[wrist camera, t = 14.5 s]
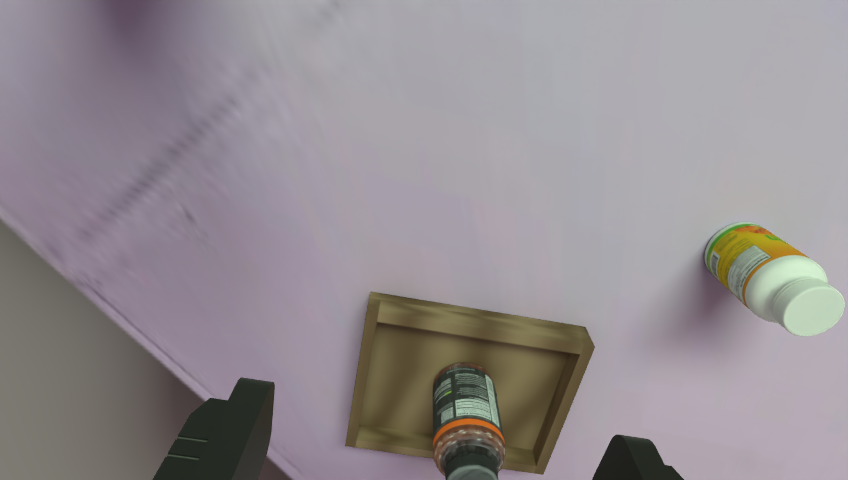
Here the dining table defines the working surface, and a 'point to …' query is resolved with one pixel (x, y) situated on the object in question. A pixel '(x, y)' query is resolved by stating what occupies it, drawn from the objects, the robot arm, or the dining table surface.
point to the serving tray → (473, 343)
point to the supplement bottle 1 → (467, 424)
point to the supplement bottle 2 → (774, 279)
